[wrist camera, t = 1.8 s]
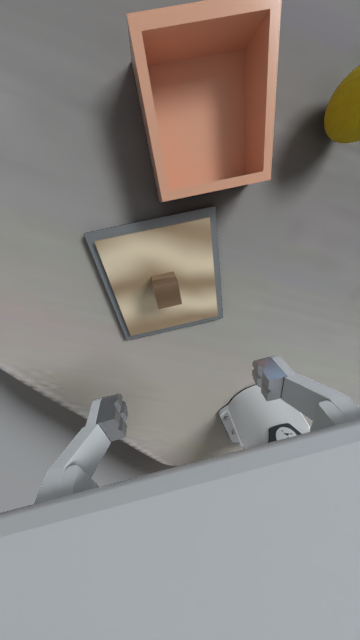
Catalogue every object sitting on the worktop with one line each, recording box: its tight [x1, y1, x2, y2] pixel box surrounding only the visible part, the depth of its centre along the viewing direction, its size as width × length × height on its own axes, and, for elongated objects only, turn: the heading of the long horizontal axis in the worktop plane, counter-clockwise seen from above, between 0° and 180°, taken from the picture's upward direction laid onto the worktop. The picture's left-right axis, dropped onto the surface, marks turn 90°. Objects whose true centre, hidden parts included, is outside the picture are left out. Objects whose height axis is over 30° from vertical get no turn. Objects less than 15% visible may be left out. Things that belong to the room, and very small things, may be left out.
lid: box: [95, 217, 218, 336], centre depth 25 cm, size 14×14×5 cm
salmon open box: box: [127, 0, 281, 203], centre depth 18 cm, size 11×11×5 cm
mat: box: [84, 206, 223, 340], centre depth 28 cm, size 16×16×1 cm
